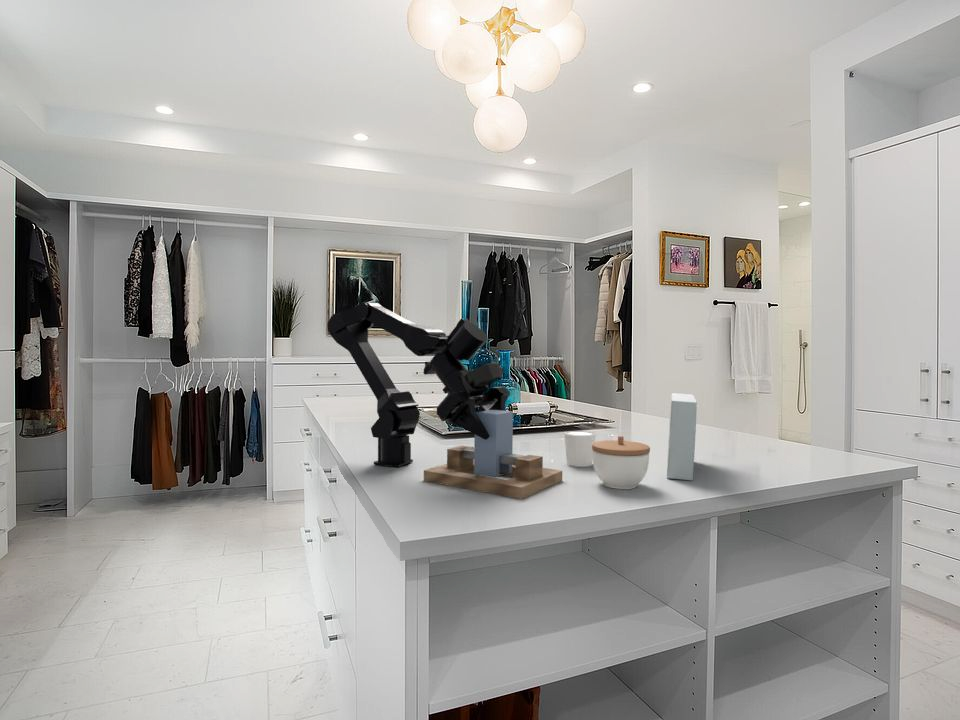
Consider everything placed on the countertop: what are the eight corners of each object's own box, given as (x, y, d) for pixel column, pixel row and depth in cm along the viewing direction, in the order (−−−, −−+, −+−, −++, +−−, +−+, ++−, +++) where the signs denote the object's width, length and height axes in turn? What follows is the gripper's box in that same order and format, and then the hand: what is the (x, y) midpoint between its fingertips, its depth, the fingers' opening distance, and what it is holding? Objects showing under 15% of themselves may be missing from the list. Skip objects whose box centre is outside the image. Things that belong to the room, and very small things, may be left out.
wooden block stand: (423, 480, 110) (423, 452, 110) (470, 466, 123) (471, 441, 123) (521, 498, 98) (521, 467, 97) (562, 480, 111) (562, 452, 111)
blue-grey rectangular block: (495, 477, 106) (496, 414, 106) (474, 474, 109) (474, 412, 109) (512, 471, 111) (512, 411, 111) (491, 468, 114) (491, 409, 114)
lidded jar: (598, 492, 102) (599, 441, 102) (586, 478, 113) (586, 431, 113) (657, 492, 103) (658, 441, 102) (639, 478, 113) (640, 432, 113)
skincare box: (695, 482, 111) (697, 401, 111) (666, 479, 113) (668, 400, 112) (692, 461, 131) (693, 393, 131) (667, 459, 133) (668, 392, 132)
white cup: (562, 460, 130) (562, 430, 130) (592, 461, 130) (592, 430, 130) (565, 467, 123) (566, 435, 123) (597, 467, 123) (597, 435, 123)
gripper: (449, 348, 104) (499, 413, 98) (502, 348, 120) (548, 404, 114) (416, 389, 109) (462, 452, 103) (472, 383, 124) (514, 438, 118)
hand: (499, 435), depth 109 cm, fingers open, 8 cm apart
